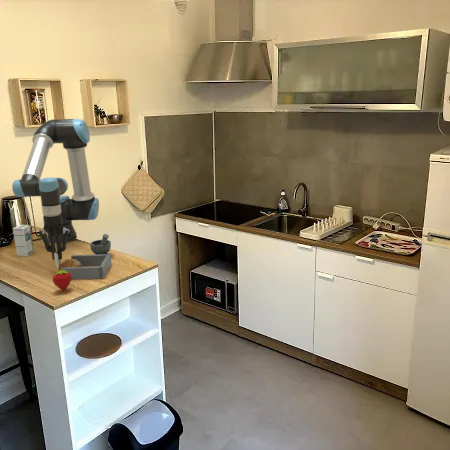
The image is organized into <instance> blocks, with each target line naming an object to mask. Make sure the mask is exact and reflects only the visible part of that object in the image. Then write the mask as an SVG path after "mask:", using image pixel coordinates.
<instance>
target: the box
mask: <svg viewBox="0 0 450 450" xmlns="http://www.w3.org/2000/svg"><path fill="white" fill-rule="evenodd" d="M111 257H112V255H111V253H110V254H109V253H108V254H98V255H95V254H73V255H70V259H75V260H77V261H79V262H80V263H81V264H82V267H63V268H61V270H62V271H64V270H65V271H67V272H69V273H70V274H71V276H72V278H71V281H72V280H73V281H74V280H98V279H99V280H100V279H101V280H102V279H105V277H106V276H107V273H108V271H109V270H110V268H111V267H112V258H111Z"/></svg>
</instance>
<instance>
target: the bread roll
mask: <svg viewBox="0 0 450 450" xmlns="http://www.w3.org/2000/svg"><path fill="white" fill-rule="evenodd" d="M63 267H83V266H82V264H81V263H80V262H79V261H77V260H75V259H71V258H68V259H67V258H66V259H64V261H63V262H62V263H61V265H60V266H59V267H58V272H60V270H61V268H63Z"/></svg>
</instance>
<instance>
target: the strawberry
mask: <svg viewBox="0 0 450 450" xmlns="http://www.w3.org/2000/svg"><path fill="white" fill-rule="evenodd" d="M71 278H72V276H71V274H70V273H69V272H67V271H65V270H64V271H62V270H60V272H59V271H57V272H56V273H54V275H53V276H52V282H53V284H54V285H55V286H56V287H57V288H58V289H60V290H61V291H62V292H65V291H67V289H68V287H69V285H70V284H71V282H72V280H71Z"/></svg>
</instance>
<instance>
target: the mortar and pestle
mask: <svg viewBox="0 0 450 450" xmlns="http://www.w3.org/2000/svg"><path fill="white" fill-rule="evenodd" d="M111 244H112V241H111V240H109V234H107V233H103V234H102V239H95V240H93V241H91V242H90V244H89V245H90V250H91V252H92V253H93V254H94V255H98V254H109V252H110V250H111V246H112V245H111Z"/></svg>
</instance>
